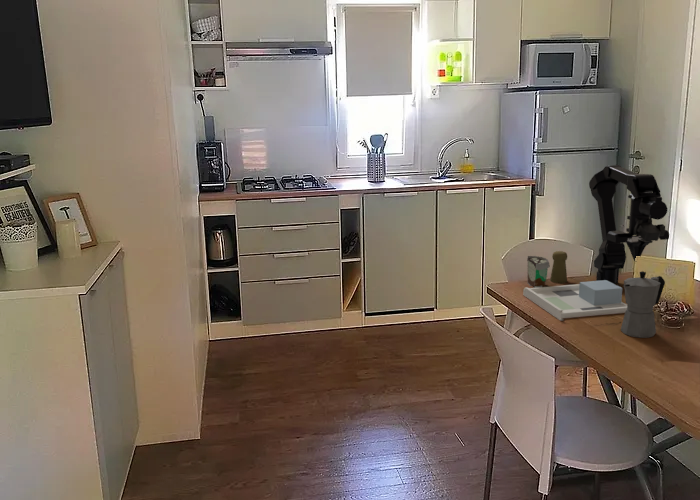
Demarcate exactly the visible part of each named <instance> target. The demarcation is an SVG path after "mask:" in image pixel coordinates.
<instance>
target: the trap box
mask: <svg viewBox="0 0 700 500" xmlns="http://www.w3.org/2000/svg"><path fill="white" fill-rule="evenodd" d="M579 284H580V283H577V284H565V285H553V286H545V287H538V288H534V287H524V288H523V293H522V294H523V296H524V297H525V298H527V299H528V300H530V301H531V302H533V303H534V304H536V305H537V306H538V307H540V308H541V309H543V310H544V311H546V312H547V313H549V314H550V315H551V316H553V317H554V318H555V319H557V320H559V321H560V322H561V321H563V322H565V319H570V318H579V317H580V318H581V317H590V316H591V317H593V316H602V315H603V316H604V315H614V314H625V311H626V309H627V303H626V302H623V301H621V303H616V304H604V305H592V304H591V303H589V302H587V301H586V300H584V299H582V298H580V297H579Z"/></svg>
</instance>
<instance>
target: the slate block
mask: <svg viewBox="0 0 700 500" xmlns="http://www.w3.org/2000/svg"><path fill="white" fill-rule="evenodd" d="M578 284H579V297H580V298H582V299H584V300H586V301H587V302H589V303H591V304H592V305H604V304H616V303H621V302H623V301H622V300H623V298H622V297H623V287H621V286H619V285H618V284H613V283H611V282H609V281H607V280H601V281H596V280H592V281H591V280H590V281H579V283H578Z"/></svg>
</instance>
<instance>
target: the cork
mask: <svg viewBox="0 0 700 500" xmlns="http://www.w3.org/2000/svg"><path fill="white" fill-rule="evenodd" d="M551 256H552V257H551V258H552V260H553V263H552V268H551V272H550V273H551V274H550V279H549V281H550V282H552V283H554V284H565V283H567V282H568V276H567V275H568V274H567V264H566V263H567V262H566V261H567V260H568V254H567V252H565V251H563V250H556V251H554V252H553V253H552V255H551Z"/></svg>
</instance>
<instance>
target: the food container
mask: <svg viewBox="0 0 700 500" xmlns="http://www.w3.org/2000/svg"><path fill="white" fill-rule="evenodd" d="M526 259H527V260H526V261H527V284H528V285H529V287H532V288H538V287H547V286H546V284H547V277H548V269H549V268H550V261H549V259H547V258H546V257H543V256H536V255H527V258H526Z"/></svg>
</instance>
